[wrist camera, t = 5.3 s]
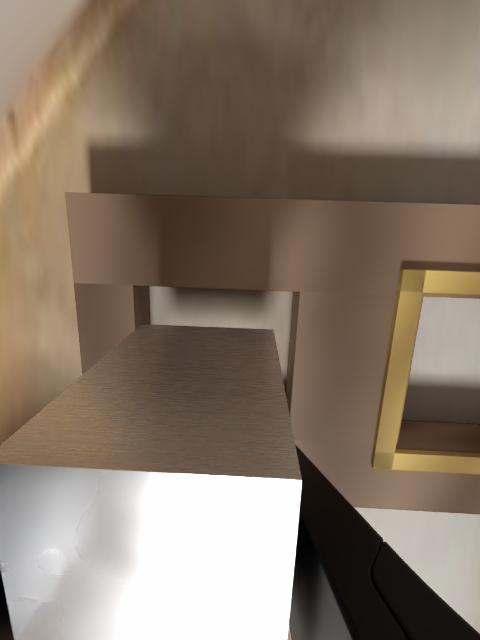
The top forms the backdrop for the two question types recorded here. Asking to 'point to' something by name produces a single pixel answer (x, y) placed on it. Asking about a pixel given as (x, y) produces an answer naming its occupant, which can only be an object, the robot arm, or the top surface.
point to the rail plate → (305, 316)
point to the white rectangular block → (156, 495)
